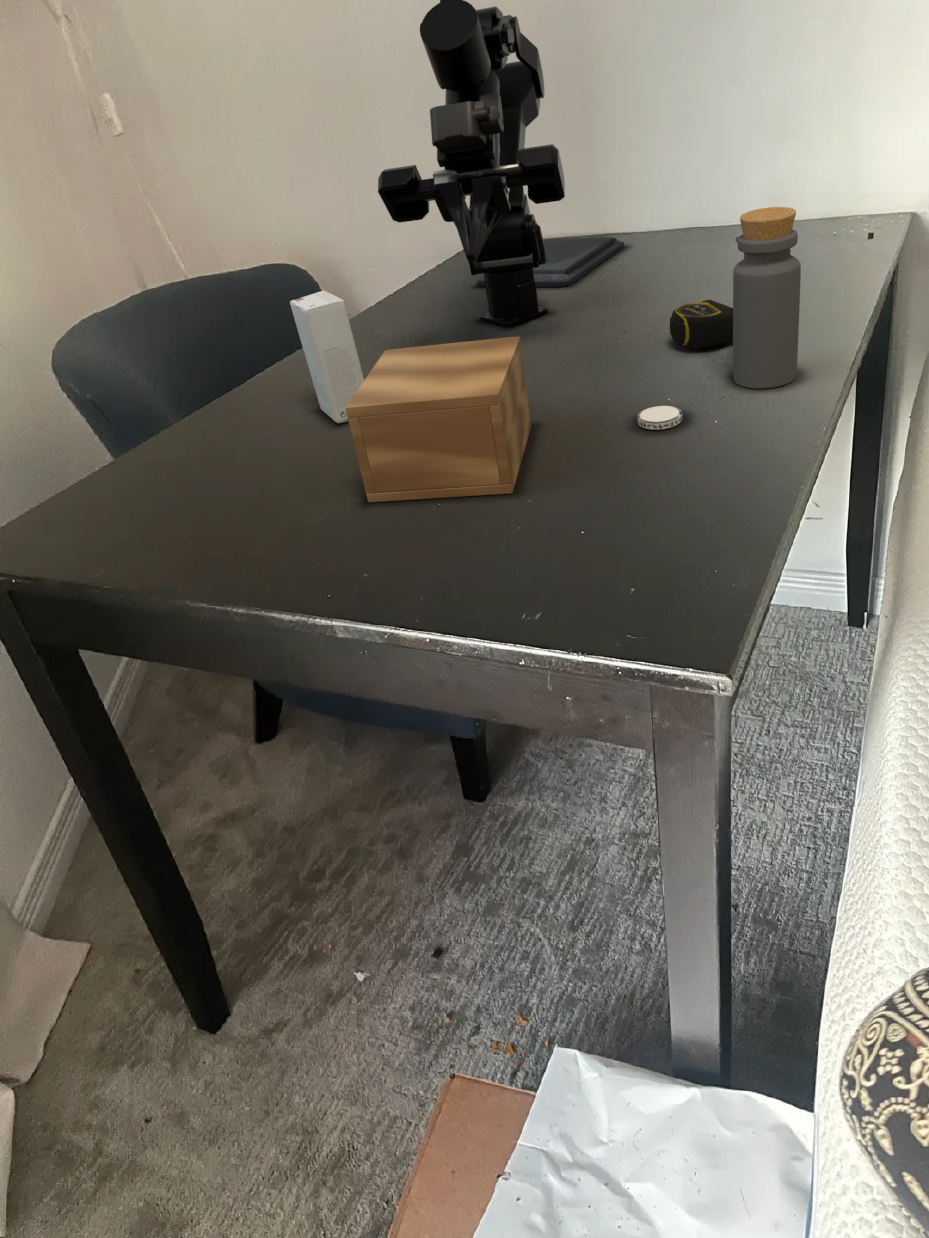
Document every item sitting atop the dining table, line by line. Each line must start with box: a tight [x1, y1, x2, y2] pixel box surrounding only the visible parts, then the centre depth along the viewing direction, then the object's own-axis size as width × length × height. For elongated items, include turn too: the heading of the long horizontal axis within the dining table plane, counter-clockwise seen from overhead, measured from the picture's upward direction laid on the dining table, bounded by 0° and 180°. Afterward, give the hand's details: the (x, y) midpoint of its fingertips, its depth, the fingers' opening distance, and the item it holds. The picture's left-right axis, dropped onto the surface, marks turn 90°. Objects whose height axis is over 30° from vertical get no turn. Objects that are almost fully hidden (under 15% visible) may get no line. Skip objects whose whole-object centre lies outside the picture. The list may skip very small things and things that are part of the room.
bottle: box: [732, 206, 802, 390], centre depth 86 cm, size 6×6×15 cm
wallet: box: [476, 236, 625, 288], centre depth 137 cm, size 20×2×15 cm
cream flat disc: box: [636, 405, 683, 430], centre depth 86 cm, size 4×4×1 cm
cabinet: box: [345, 335, 532, 504], centre depth 83 cm, size 14×13×9 cm
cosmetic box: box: [289, 290, 365, 424], centre depth 98 cm, size 6×4×12 cm
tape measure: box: [669, 299, 733, 350], centre depth 100 cm, size 7×7×4 cm
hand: (471, 259), depth 96 cm, fingers closed
